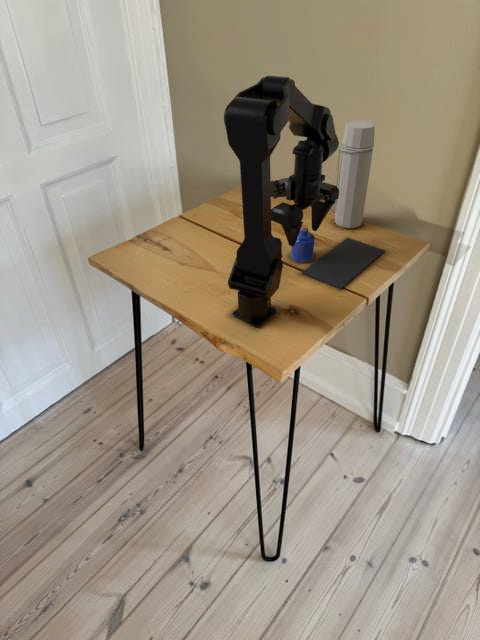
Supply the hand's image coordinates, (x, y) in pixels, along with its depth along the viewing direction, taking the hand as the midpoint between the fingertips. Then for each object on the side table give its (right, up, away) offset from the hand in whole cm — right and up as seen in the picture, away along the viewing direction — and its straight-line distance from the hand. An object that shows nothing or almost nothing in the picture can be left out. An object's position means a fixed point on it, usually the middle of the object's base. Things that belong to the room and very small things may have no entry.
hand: (303, 238), depth 106 cm
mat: (+10, -6, +1) cm, 11 cm away
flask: (0, -4, +3) cm, 5 cm away
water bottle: (+13, +6, +16) cm, 22 cm away
